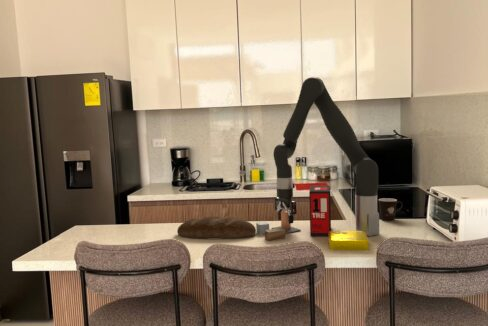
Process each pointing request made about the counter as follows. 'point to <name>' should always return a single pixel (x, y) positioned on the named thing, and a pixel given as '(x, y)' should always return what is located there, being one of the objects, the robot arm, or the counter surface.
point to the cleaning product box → (320, 211)
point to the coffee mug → (388, 208)
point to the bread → (216, 228)
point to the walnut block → (275, 234)
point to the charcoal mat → (289, 230)
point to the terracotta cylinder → (285, 221)
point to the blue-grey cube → (262, 227)
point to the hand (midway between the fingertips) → (285, 221)
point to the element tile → (348, 240)
